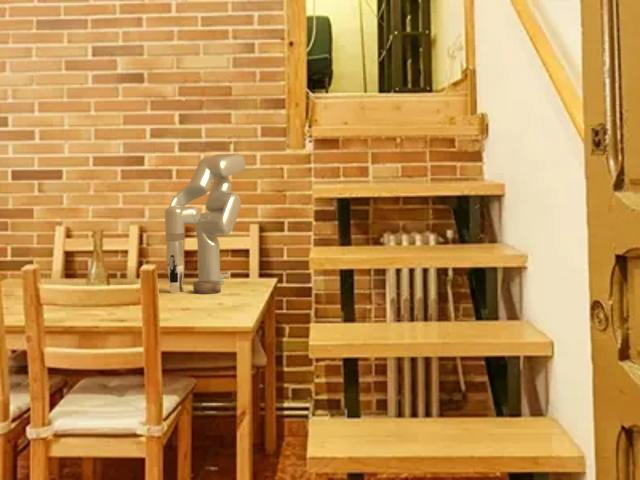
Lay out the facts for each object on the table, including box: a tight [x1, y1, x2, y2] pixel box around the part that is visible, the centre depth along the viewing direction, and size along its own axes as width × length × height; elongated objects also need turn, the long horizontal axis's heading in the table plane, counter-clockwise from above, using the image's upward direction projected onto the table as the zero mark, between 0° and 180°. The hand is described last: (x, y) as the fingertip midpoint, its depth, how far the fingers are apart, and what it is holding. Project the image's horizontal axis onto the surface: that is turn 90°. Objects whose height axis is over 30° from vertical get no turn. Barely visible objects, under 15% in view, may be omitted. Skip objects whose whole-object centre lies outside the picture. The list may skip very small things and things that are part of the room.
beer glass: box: [166, 254, 185, 294], centre depth 293 cm, size 7×7×15 cm
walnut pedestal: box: [192, 280, 221, 295], centre depth 293 cm, size 11×11×4 cm
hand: (176, 280), depth 293 cm, fingers closed on beer glass, 6 cm apart
